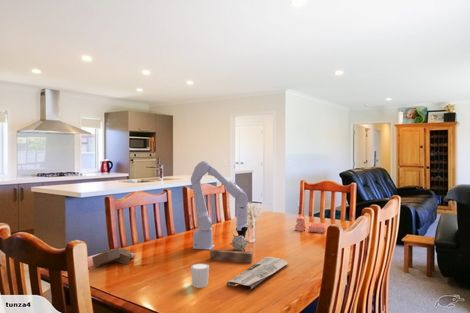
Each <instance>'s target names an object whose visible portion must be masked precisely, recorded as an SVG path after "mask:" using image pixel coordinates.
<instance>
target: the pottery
mask: <svg viewBox="0 0 470 313" xmlns="http://www.w3.org/2000/svg"><path fill="white" fill-rule="evenodd" d="M295 222H296V225H294V229H295V231H296V230H297V232H304V230H305V231H306V229H307V228H306V225H305V222H306V221H305V217H304V216H303V214H301V213H300V214H298V216H296V221H295ZM325 230H326V223H323V222H322V223H321V222H309V225H308V233H311V232H318V233H317V234H325Z"/></svg>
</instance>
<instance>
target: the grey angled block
mask: <svg viewBox="0 0 470 313" xmlns="http://www.w3.org/2000/svg"><path fill="white" fill-rule="evenodd" d="M135 257H136V254H135V252H130V250H129V249H127V248H124V247H121V248H120V247H119V248H113V249H112V248H111V249H109V250H107V251H104V252H102V253H99V254H97V255H95V256H92V258H91V260H92V263H93V266H94V267H97V266H101V265H106V264H109V263H111V262H113V261H115V262H117V263H120V264H123V265H125V266H130V260H131V259H134V258H135Z"/></svg>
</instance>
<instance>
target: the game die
mask: <svg viewBox="0 0 470 313" xmlns="http://www.w3.org/2000/svg"><path fill="white" fill-rule="evenodd" d="M247 243H249V240H247V239H246V237H245V238H244V237H243V234H242V235H240V236H238V235H235V234H233V238H232V241H231V243H229V245H232V247H233V248H234V251H243V252H246V246H247Z"/></svg>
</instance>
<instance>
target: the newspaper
mask: <svg viewBox="0 0 470 313" xmlns="http://www.w3.org/2000/svg"><path fill="white" fill-rule="evenodd" d="M289 263H290V261H289V262H288V261H286V260H285V259H283V258H278V257H272V256H265V257H263V258H262V259H260V260H259V261H257V262H256V263H254V264H252V265H251V266H250V267H248V268H247V269H246V270H244V271H242V272H240V273H239V274H237V275H236V276H235V277H233V278H231V279H230V280H228V281H227V282H226V286H232V285H235V284H240V285H243V286H247V287H249V288H250V287H251V288H250V289H249V288H248V290H249V291H250V290H252V289H253V288H255V287H256V286H257V285H259V284H260V283H261V282H263V281H264V280H266V279H267V278H268V277H270V276H271V275H273V274H275V273H276V272H277V271H279V270H280V269H282V268H283V267H285V266H286V265H288V264H289Z"/></svg>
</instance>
